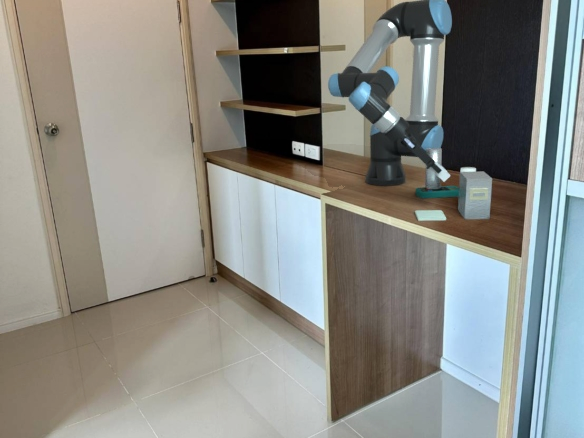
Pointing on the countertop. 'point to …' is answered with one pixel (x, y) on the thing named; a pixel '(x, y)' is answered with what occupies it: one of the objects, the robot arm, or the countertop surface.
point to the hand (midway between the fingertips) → (445, 176)
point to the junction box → (474, 195)
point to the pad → (429, 215)
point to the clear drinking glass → (431, 178)
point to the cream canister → (468, 169)
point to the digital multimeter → (437, 192)
